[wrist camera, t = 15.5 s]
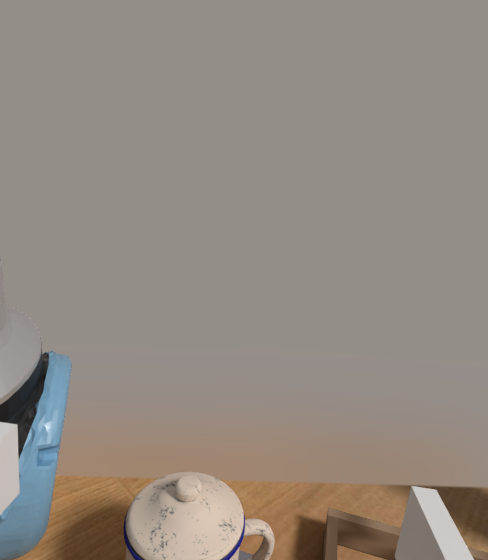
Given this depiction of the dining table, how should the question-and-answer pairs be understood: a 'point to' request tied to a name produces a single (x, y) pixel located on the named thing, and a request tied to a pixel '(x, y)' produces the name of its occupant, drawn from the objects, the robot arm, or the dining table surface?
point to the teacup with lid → (190, 521)
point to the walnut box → (365, 536)
